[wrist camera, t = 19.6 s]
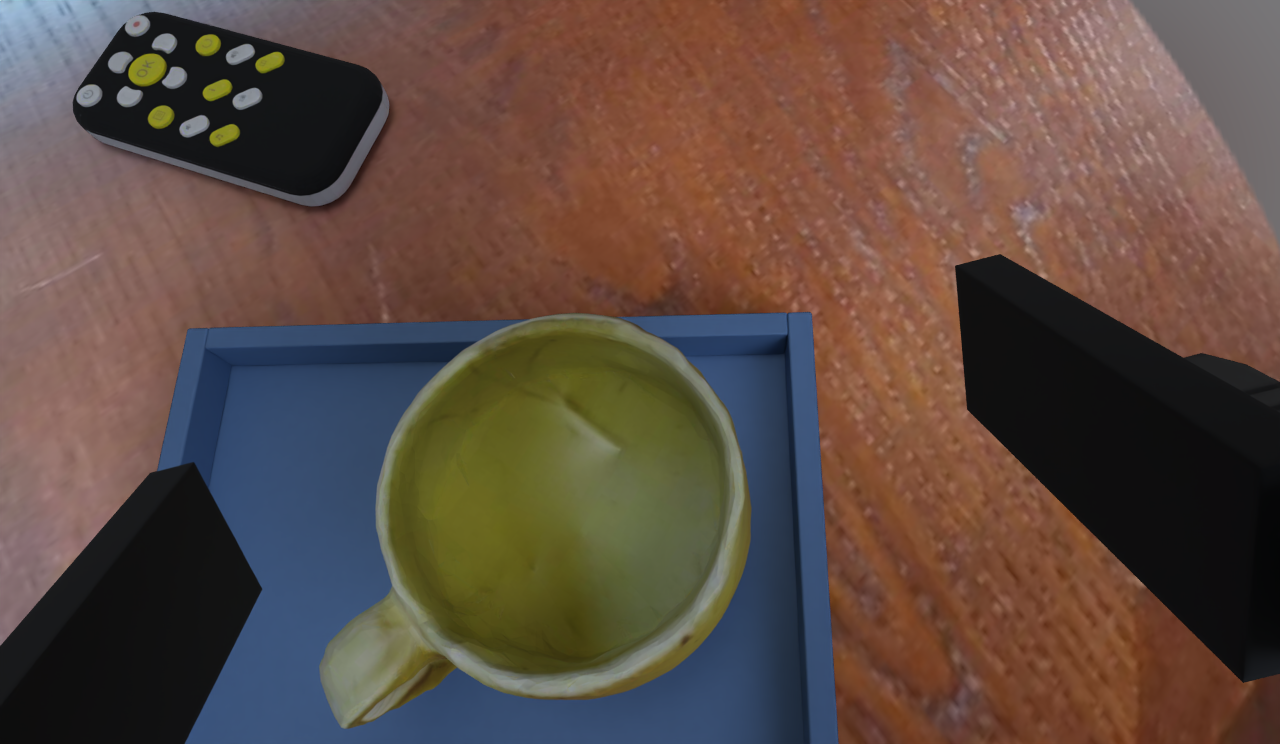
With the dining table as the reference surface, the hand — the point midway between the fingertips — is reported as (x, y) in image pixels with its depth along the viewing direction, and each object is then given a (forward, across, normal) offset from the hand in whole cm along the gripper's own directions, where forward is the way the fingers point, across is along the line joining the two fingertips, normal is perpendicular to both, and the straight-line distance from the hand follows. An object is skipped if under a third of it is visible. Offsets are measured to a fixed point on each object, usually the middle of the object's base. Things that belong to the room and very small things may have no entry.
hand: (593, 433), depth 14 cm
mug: (+10, -3, -10) cm, 14 cm away
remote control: (+26, -13, +5) cm, 29 cm away
